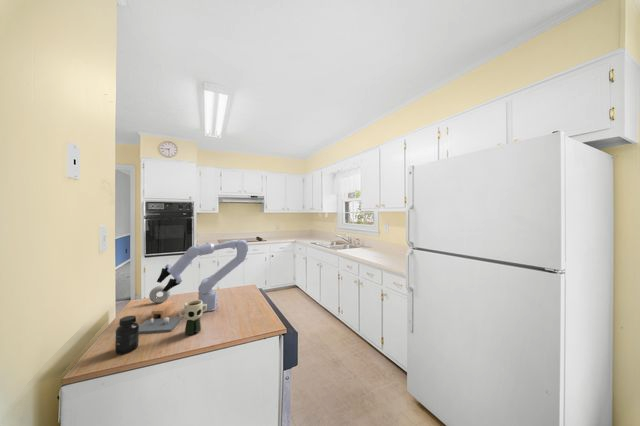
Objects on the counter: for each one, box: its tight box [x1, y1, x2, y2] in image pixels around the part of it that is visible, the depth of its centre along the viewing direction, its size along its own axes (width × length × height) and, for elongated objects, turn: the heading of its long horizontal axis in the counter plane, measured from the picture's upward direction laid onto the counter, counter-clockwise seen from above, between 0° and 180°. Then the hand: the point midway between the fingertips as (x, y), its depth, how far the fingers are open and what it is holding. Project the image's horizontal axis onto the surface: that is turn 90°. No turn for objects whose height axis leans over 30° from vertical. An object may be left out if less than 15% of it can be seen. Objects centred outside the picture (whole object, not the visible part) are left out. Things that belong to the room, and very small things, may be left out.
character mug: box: [178, 299, 207, 335], centre depth 102 cm, size 11×7×13 cm, turn 132°
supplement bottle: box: [114, 315, 140, 355], centre depth 88 cm, size 7×7×12 cm
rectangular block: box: [150, 301, 174, 319], centre depth 118 cm, size 12×5×4 cm, turn 11°
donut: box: [149, 285, 171, 304], centre depth 133 cm, size 10×3×10 cm, turn 119°
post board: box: [139, 316, 183, 335], centre depth 106 cm, size 15×12×4 cm
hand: (161, 286), depth 120 cm, fingers open, 7 cm apart
